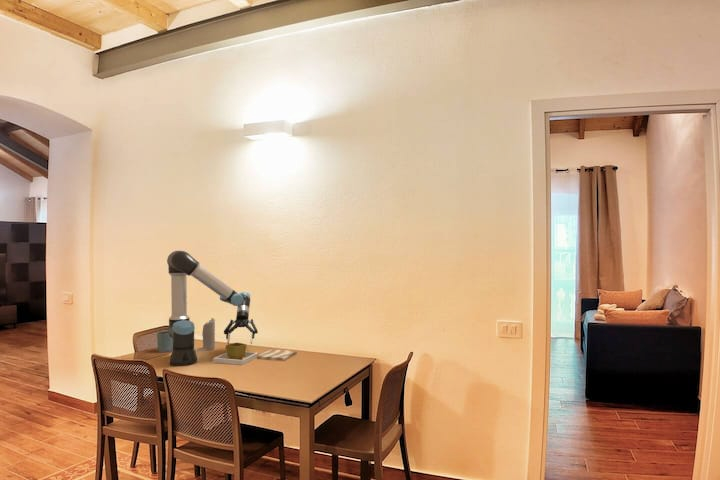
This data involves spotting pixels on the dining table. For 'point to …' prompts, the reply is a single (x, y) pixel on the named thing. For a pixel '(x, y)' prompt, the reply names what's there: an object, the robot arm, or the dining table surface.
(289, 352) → the slatted trivet
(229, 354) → the flower pot
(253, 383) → the dining table surface
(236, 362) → the grey square frame
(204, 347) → the grey upright panel
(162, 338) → the drinking glass
